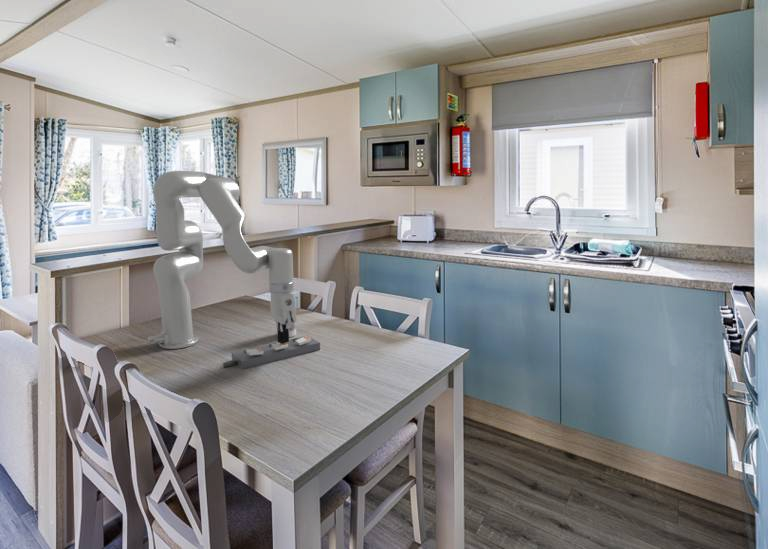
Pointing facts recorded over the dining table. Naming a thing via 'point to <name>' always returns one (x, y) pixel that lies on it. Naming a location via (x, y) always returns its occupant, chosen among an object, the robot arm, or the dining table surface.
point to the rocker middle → (279, 346)
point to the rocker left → (254, 351)
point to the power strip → (272, 353)
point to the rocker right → (303, 340)
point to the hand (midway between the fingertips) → (283, 341)
